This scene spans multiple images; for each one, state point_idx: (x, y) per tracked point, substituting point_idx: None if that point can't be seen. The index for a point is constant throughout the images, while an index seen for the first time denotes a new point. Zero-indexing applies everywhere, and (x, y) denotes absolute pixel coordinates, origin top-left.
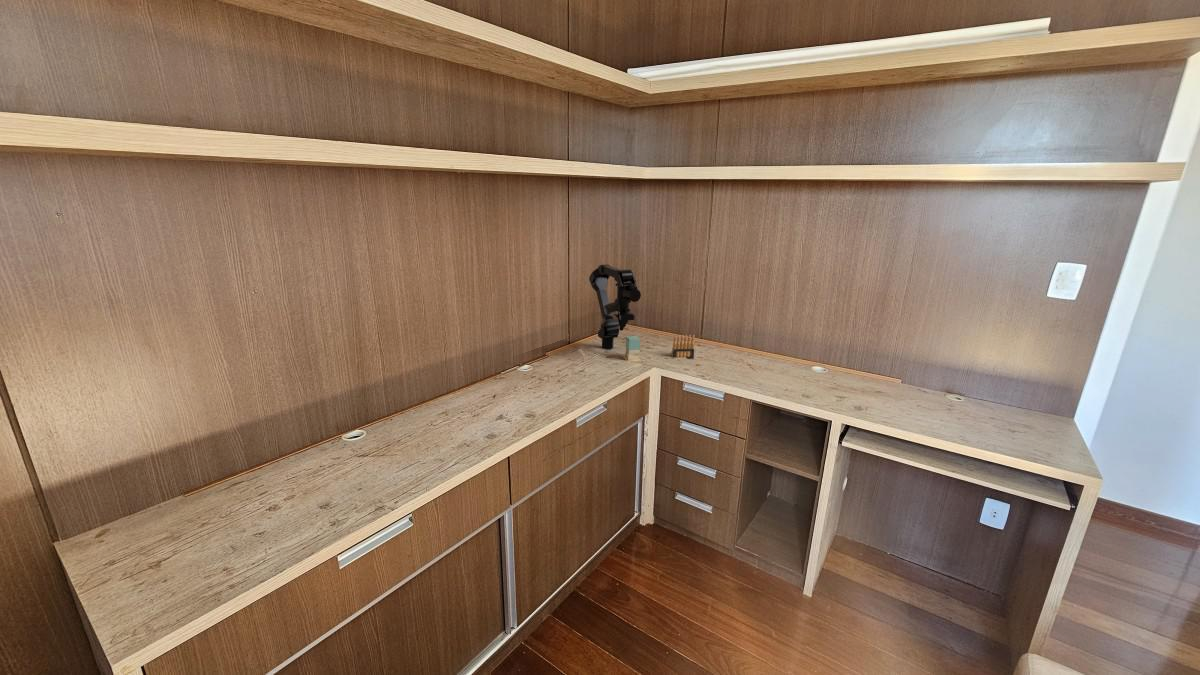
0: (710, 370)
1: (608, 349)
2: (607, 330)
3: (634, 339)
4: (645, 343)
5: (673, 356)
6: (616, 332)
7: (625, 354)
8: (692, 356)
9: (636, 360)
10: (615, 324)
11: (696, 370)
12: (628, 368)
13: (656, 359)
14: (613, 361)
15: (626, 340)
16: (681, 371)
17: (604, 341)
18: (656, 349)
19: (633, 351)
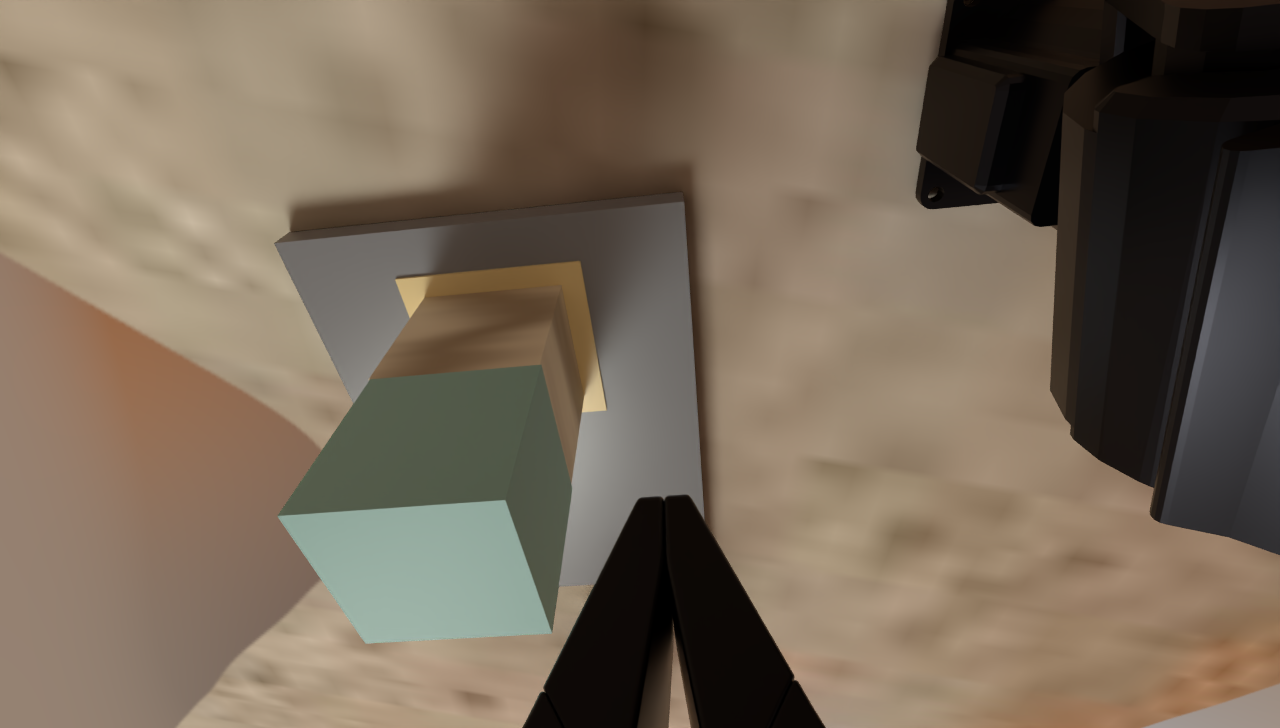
0: (386, 722)
1: (929, 94)
2: (1130, 129)
3: (322, 580)
4: (1051, 540)
5: None
6: (1054, 358)
7: (551, 303)
8: None
9: None
10: (1274, 475)
11: (365, 676)
12: (236, 252)
13: None
14: (464, 96)
15: (498, 443)
16: (316, 614)
17: (1092, 30)
18: (847, 579)
19: None
